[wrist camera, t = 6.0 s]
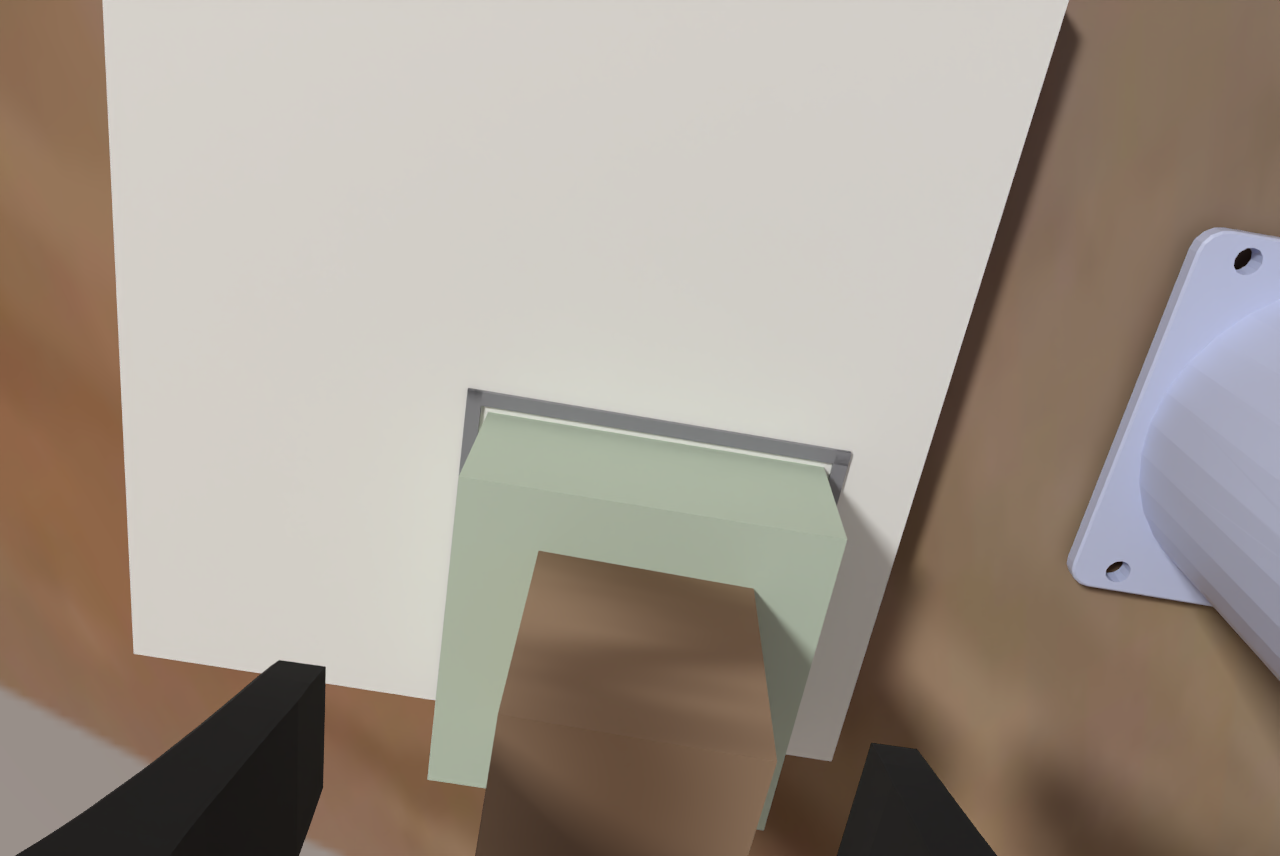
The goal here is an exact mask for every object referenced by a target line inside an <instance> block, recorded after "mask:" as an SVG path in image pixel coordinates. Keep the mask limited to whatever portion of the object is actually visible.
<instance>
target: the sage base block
mask: <svg viewBox="0 0 1280 856" xmlns="http://www.w3.org/2000/svg"><path fill="white" fill-rule="evenodd" d="M846 542H847V537H846V534H845V531H844V528H843V525H842V521H841V518H840V515H839V512H838V509H837V506H836V503H835V500H834V497H833V494H832V491H831V487H830V484H829V481H828V478H827V475H826V472H825V469H824V467H820V466H814V465H808V464H802V463H796V462H790V461H784V460H777V459H771V458H765V457H759V456H753V455H747V454H741V453H735V452H729V451H723V450H717V449H711V448H705V447H699V446H693V445H687V444H681V443H675V442H668V441H662V440H656V439H650V438H644V437H638V436H632V435H626V434H620V433H614V432H608V431H602V430H596V429H590V428H584V427H578V426H572V425H566V424H560V423H553V422H547V421H541V420H535V419H529V418H523V417H517V416H511V415H505V414H499V413H493V412H488V413H487V416H486V418H485V420H484V422H483V424H482V427H481V429H480V431H479V433H478V435H477V437H476V440H475V442H474V444H473V446H472V448H471V451H470V453H469V455H468V457H467V459H466V461H465V464H464V466H463V468H462V470H461V472H460V475H459V478H458V488H457V498H456V507H455V517H454V527H453V537H452V546H451V556H450V566H449V575H448V585H447V595H446V604H445V614H444V624H443V634H442V643H441V653H440V663H439V672H438V682H437V692H436V701H435V711H434V721H433V731H432V740H431V750H430V760H429V769H428V779H427V780H434V781H440V782H447V783H454V784H460V785H467V786H473V787H480V788H486V785H487V779H488V773H489V766H490V760H491V754H492V748H493V741H494V735H495V729H496V723H497V716H498V712H499V707H500V703H501V699H502V695H503V691H504V687H505V683H506V679H507V675H508V671H509V667H510V663H511V659H512V655H513V651H514V647H515V643H516V639H517V635H518V631H519V627H520V623H521V619H522V615H523V611H524V607H525V603H526V599H527V595H528V591H529V587H530V583H531V579H532V575H533V571H534V567H535V563H536V559H537V555H538V551H544V552H550V553H555V554H561V555H567V556H572V557H578V558H584V559H589V560H595V561H600V562H606V563H612V564H617V565H623V566H629V567H634V568H640V569H646V570H651V571H657V572H663V573H668V574H674V575H680V576H685V577H691V578H697V579H702V580H708V581H713V582H719V583H725V584H730V585H736V586H742V587H747V588H753V589H754V594H755V601H756V609H757V616H758V623H759V631H760V638H761V646H762V653H763V660H764V668H765V675H766V683H767V690H768V697H769V705H770V712H771V720H772V727H773V734H774V742H775V749H776V756H777V764H776V767H775V770H774V774H773V777H772V780H771V783H770V787H769V790H768V793H767V796H766V800H765V803H764V806H763V809H762V812H761V816H760V819H759V822H758V825H757V830H764V828H765V825H766V821H767V818H768V814H769V811H770V807H771V804H772V800H773V797H774V793H775V790H776V786H777V783H778V779H779V776H780V772H781V769H782V765H783V762H784V758H785V755H786V751H787V748H788V744H789V741H790V737H791V734H792V730H793V727H794V723H795V720H796V717H797V713H798V710H799V706H800V703H801V699H802V696H803V692H804V689H805V685H806V682H807V678H808V675H809V671H810V668H811V664H812V661H813V657H814V654H815V650H816V647H817V643H818V640H819V636H820V633H821V629H822V626H823V622H824V619H825V616H826V612H827V609H828V605H829V602H830V598H831V595H832V591H833V588H834V584H835V581H836V577H837V574H838V570H839V567H840V563H841V560H842V556H843V553H844V549H845V546H846Z"/></svg>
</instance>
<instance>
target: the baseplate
mask: <svg viewBox="0 0 1280 856" xmlns="http://www.w3.org/2000/svg"><path fill="white" fill-rule="evenodd" d="M1068 2H1069V0H103V19H104V40H105V61H106V82H107V103H108V124H109V145H110V166H111V187H112V208H113V229H114V250H115V271H116V292H117V313H118V333H119V354H120V375H121V396H122V417H123V438H124V459H125V480H126V501H127V522H128V543H129V564H130V585H131V606H132V627H133V648H134V654H139V655H145V656H152V657H158V658H165V659H171V660H178V661H184V662H191V663H197V664H204V665H210V666H217V667H223V668H230V669H236V670H243V671H249V672H256V673H263V672H264V671H265V670H266V669H267V668H269V667H270V666H271V665H273V664H274V663H276V662H277V661H279V660H282V661H289V662H297V663H304V664H311V665H318V666H325V667H326V680H325V683H327V684H333V685H340V686H346V687H353V688H359V689H366V690H372V691H379V692H385V693H392V694H398V695H404V696H411V697H417V698H424V699H430V700H436V692H437V682H438V672H439V663H440V653H441V643H442V634H443V624H444V614H445V604H446V595H447V585H448V575H449V566H450V556H451V546H452V537H453V527H454V517H455V507H456V498H457V488H458V478H459V475H460V472H461V470H462V468H463V466H464V464H465V461H466V459H467V457H468V455H469V453H470V451H471V448H472V446H473V444H474V442H475V440H476V437H477V435H478V433H479V431H480V429H481V427H482V424H483V422H484V420H485V418H486V416H487V413H488V412H493V413H499V414H505V415H511V416H517V417H523V418H529V419H535V420H541V421H547V422H553V423H560V424H566V425H572V426H578V427H584V428H590V429H596V430H602V431H608V432H614V433H620V434H626V435H632V436H638V437H644V438H650V439H656V440H662V441H668V442H675V443H681V444H687V445H693V446H699V447H705V448H711V449H717V450H723V451H729V452H735V453H741V454H747V455H753V456H759V457H765V458H771V459H777V460H784V461H790V462H796V463H802V464H808V465H814V466H820V467H824V469H825V472H826V475H827V478H828V481H829V484H830V487H831V491H832V494H833V497H834V500H835V503H836V506H837V509H838V512H839V515H840V518H841V521H842V525H843V528H844V531H845V534H846V537H847V542H846V546H845V549H844V553H843V556H842V560H841V563H840V567H839V570H838V574H837V577H836V581H835V584H834V588H833V591H832V595H831V598H830V602H829V605H828V609H827V612H826V616H825V619H824V622H823V626H822V629H821V633H820V636H819V640H818V643H817V647H816V650H815V654H814V657H813V661H812V664H811V668H810V671H809V675H808V678H807V682H806V685H805V689H804V692H803V696H802V699H801V703H800V706H799V710H798V713H797V717H796V720H795V723H794V727H793V730H792V734H791V737H790V741H789V744H788V748H787V751H786V755H793V756H799V757H806V758H812V759H819V760H825V761H832V758H833V755H834V752H835V749H836V745H837V742H838V739H839V736H840V732H841V729H842V726H843V723H844V720H845V716H846V713H847V710H848V707H849V704H850V700H851V697H852V694H853V691H854V688H855V684H856V681H857V678H858V675H859V672H860V668H861V665H862V662H863V659H864V656H865V652H866V649H867V646H868V643H869V640H870V636H871V633H872V630H873V627H874V623H875V620H876V617H877V614H878V611H879V607H880V604H881V601H882V598H883V595H884V591H885V588H886V585H887V582H888V579H889V575H890V572H891V569H892V566H893V563H894V559H895V556H896V553H897V550H898V547H899V543H900V540H901V537H902V534H903V531H904V527H905V524H906V521H907V518H908V514H909V511H910V508H911V505H912V502H913V498H914V495H915V492H916V489H917V486H918V482H919V479H920V476H921V473H922V470H923V466H924V463H925V460H926V457H927V454H928V450H929V447H930V444H931V441H932V438H933V434H934V431H935V428H936V425H937V422H938V418H939V415H940V412H941V409H942V405H943V402H944V399H945V396H946V393H947V389H948V386H949V383H950V380H951V377H952V373H953V370H954V367H955V364H956V361H957V357H958V354H959V351H960V348H961V345H962V341H963V338H964V335H965V332H966V329H967V325H968V322H969V319H970V316H971V313H972V309H973V306H974V303H975V300H976V296H977V293H978V290H979V287H980V284H981V280H982V277H983V274H984V271H985V268H986V264H987V261H988V258H989V255H990V252H991V248H992V245H993V242H994V239H995V236H996V232H997V229H998V226H999V223H1000V220H1001V216H1002V213H1003V210H1004V207H1005V204H1006V200H1007V197H1008V194H1009V191H1010V187H1011V184H1012V181H1013V178H1014V175H1015V171H1016V168H1017V165H1018V162H1019V159H1020V155H1021V152H1022V149H1023V146H1024V143H1025V139H1026V136H1027V133H1028V130H1029V127H1030V123H1031V120H1032V117H1033V114H1034V111H1035V107H1036V104H1037V101H1038V98H1039V95H1040V91H1041V88H1042V85H1043V82H1044V78H1045V75H1046V72H1047V69H1048V66H1049V62H1050V59H1051V56H1052V53H1053V50H1054V46H1055V43H1056V40H1057V37H1058V34H1059V30H1060V27H1061V24H1062V21H1063V18H1064V14H1065V11H1066V8H1067V5H1068Z"/></svg>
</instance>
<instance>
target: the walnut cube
mask: <svg viewBox="0 0 1280 856" xmlns="http://www.w3.org/2000/svg"><path fill="white" fill-rule="evenodd" d="M776 764H777V756H776V749H775V742H774V734H773V727H772V720H771V712H770V705H769V697H768V690H767V683H766V675H765V668H764V660H763V653H762V646H761V638H760V631H759V623H758V616H757V609H756V601H755V594H754V589H753V588H747V587H742V586H736V585H730V584H725V583H719V582H713V581H708V580H702V579H697V578H691V577H685V576H680V575H674V574H668V573H663V572H657V571H651V570H646V569H640V568H634V567H629V566H623V565H617V564H612V563H606V562H600V561H595V560H589V559H584V558H578V557H572V556H567V555H561V554H555V553H550V552H544V551H538V555H537V559H536V563H535V567H534V571H533V575H532V579H531V583H530V587H529V591H528V595H527V599H526V603H525V607H524V611H523V615H522V619H521V623H520V627H519V631H518V635H517V639H516V643H515V647H514V651H513V655H512V659H511V663H510V667H509V671H508V675H507V679H506V683H505V687H504V691H503V695H502V699H501V703H500V707H499V712H498V716H497V723H496V729H495V735H494V741H493V748H492V754H491V760H490V766H489V773H488V779H487V785H486V792H485V798H484V804H483V810H482V817H481V823H480V829H479V835H478V842H477V848H476V854H475V856H748V855H749V851H750V848H751V845H752V842H753V838H754V835H755V832H756V829H757V825H758V822H759V819H760V816H761V812H762V809H763V806H764V803H765V800H766V796H767V793H768V790H769V787H770V783H771V780H772V777H773V774H774V770H775V767H776Z"/></svg>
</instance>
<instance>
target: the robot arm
mask: <svg viewBox="0 0 1280 856" xmlns="http://www.w3.org/2000/svg"><path fill="white" fill-rule="evenodd" d="M1246 248H1250V249H1251V251H1252V254H1251V259H1250V261H1249V262H1248V264H1247V265H1246V266H1244V267H1243V268H1241V269H1238V270H1235V268H1234V261H1235V258H1236V257H1237V255H1238V254H1239V253H1240V252H1241V251H1243V250H1245V249H1246ZM1121 561H1123V564H1122V566H1121V567H1120V568H1119V569H1118V570H1116V571H1114V572H1109V573H1106V570H1107V568H1108V567H1109V566H1110V565H1111V564H1113V563H1115V562H1121ZM1067 566H1068V569H1069V572H1070V573H1071V574H1072V576H1073V577H1074V579H1076V580H1077V581H1078V582H1079V583H1080V584H1083V585H1085V586H1089V587H1095V588H1101V589H1107V590H1114V591H1120V592H1126V593H1132V594H1138V595H1144V596H1150V597H1157V598H1163V599H1169V600H1175V601H1181V602H1187V603H1194V604H1200V605H1206V606H1212V607H1214V608H1215V609H1216V610H1217V611H1218V613H1219V614H1220V615H1221V616H1222V617H1223V618H1224V619H1225V620H1226V621H1227V623H1228V624H1229V625H1230V626H1231V627H1232V628H1233V629H1234V630H1235V632H1236V633H1237V634H1238V635H1239V636H1240V637H1241V638H1242V639H1243V640H1244V642H1245V643H1246V644H1247V645H1248V646H1249V647H1250V648H1251V649H1252V651H1253V652H1254V653H1255V654H1256V655H1257V656H1258V657H1259V658H1260V659H1261V661H1262V662H1263V663H1264V664H1265V665H1266V666H1267V667H1268V668H1269V670H1270V671H1271V672H1272V673H1273V674H1274V675H1275V676H1276V677H1277V678H1278V680H1279V681H1280V237H1275V236H1270V235H1264V234H1258V233H1253V232H1247V231H1241V230H1236V229H1230V228H1212V229H1209V230H1207V231H1204V232H1203V233H1201V234H1200V235H1199V236H1198V237H1197V238H1196V239H1195V240H1194V241H1193V243H1192V244H1191V246H1190V248H1189V250H1188V252H1187V255H1186V258H1185V260H1184V263H1183V265H1182V268H1181V270H1180V273H1179V275H1178V278H1177V280H1176V283H1175V286H1174V288H1173V291H1172V293H1171V296H1170V298H1169V301H1168V303H1167V306H1166V308H1165V311H1164V314H1163V316H1162V319H1161V321H1160V324H1159V326H1158V329H1157V331H1156V334H1155V336H1154V339H1153V342H1152V344H1151V347H1150V349H1149V352H1148V354H1147V357H1146V359H1145V362H1144V364H1143V367H1142V370H1141V372H1140V375H1139V377H1138V380H1137V382H1136V385H1135V387H1134V390H1133V392H1132V395H1131V398H1130V400H1129V403H1128V405H1127V408H1126V410H1125V413H1124V415H1123V418H1122V420H1121V423H1120V426H1119V428H1118V431H1117V433H1116V436H1115V438H1114V441H1113V443H1112V446H1111V448H1110V451H1109V453H1108V456H1107V459H1106V461H1105V464H1104V466H1103V469H1102V471H1101V474H1100V476H1099V479H1098V481H1097V484H1096V487H1095V489H1094V492H1093V494H1092V497H1091V499H1090V502H1089V504H1088V507H1087V509H1086V512H1085V515H1084V517H1083V520H1082V522H1081V525H1080V527H1079V530H1078V532H1077V535H1076V537H1075V540H1074V543H1073V545H1072V548H1071V550H1070V553H1069V555H1068V560H1067ZM325 680H326V667H325V666H318V665H311V664H304V663H297V662H289V661H282V660H279V661H277V662H276V663H274V664H273V665H271V666H270V667H269V668H267V669H266V670H265V671H264V672H263V673H261V674H260V675H259V676H258V677H257V678H256V679H254V680H253V681H252V682H251V683H250V684H248V685H247V686H246V687H245V688H244V689H243V690H241V691H240V692H239V693H238V694H237V695H235V696H234V697H233V698H232V699H231V700H229V701H228V702H227V703H226V704H225V705H224V706H222V707H221V708H220V709H219V710H217V711H216V712H215V713H214V714H213V715H211V716H210V717H209V718H208V719H207V720H205V721H204V722H203V723H202V724H201V725H199V726H198V727H197V728H196V729H194V730H193V731H192V732H190V733H189V734H188V735H187V736H185V737H184V738H183V739H182V740H180V741H179V742H178V743H176V744H175V745H174V746H173V747H171V748H170V749H169V750H168V751H166V752H165V753H164V754H163V755H161V756H160V757H159V758H157V759H156V760H155V761H154V762H152V763H151V764H150V765H148V766H147V767H146V768H144V769H143V770H142V771H140V772H139V773H138V774H136V775H135V776H133V777H132V778H131V779H129V780H128V781H126V782H125V783H124V784H122V785H121V786H119V787H118V788H117V789H115V790H114V791H112V792H111V793H110V794H108V795H107V796H105V797H104V798H103V799H101V800H100V801H98V802H97V803H96V804H94V805H93V806H92V807H90V808H89V809H87V810H86V811H84V812H83V813H81V814H80V815H78V816H77V817H76V818H74V819H72V820H71V821H69V822H68V823H66V824H65V825H63V826H62V827H61V828H59V829H57V830H56V831H54V832H53V833H51V834H50V835H48V836H46V837H45V838H43V839H42V840H40V841H39V842H37V843H35V844H34V845H32V846H30V847H29V848H27V849H25V850H24V851H22V852H21V853H19V854H17V855H16V856H299V854H300V851H301V848H302V846H303V843H304V840H305V837H306V835H307V832H308V829H309V826H310V824H311V821H312V818H313V815H314V812H315V809H316V806H317V803H318V800H319V798H320V795H321V792H322V789H323V764H324V722H325ZM837 856H997V855H996V854H995V852H994V851H993V850H992V849H991V847H990V846H989V845H988V843H987V842H986V841H985V839H984V838H983V837H982V836H981V834H980V833H979V832H978V830H977V829H976V828H975V826H974V825H973V824H972V822H971V821H970V820H969V818H968V817H967V816H966V814H965V813H964V812H963V810H962V809H961V808H960V806H959V805H958V804H957V802H956V801H955V800H954V798H953V797H952V796H951V794H950V793H949V792H948V790H947V789H946V787H945V786H944V785H943V783H942V782H941V781H940V779H939V778H938V777H937V775H936V774H935V773H934V771H933V770H932V769H931V767H930V766H929V765H928V763H927V762H926V761H925V759H924V758H923V757H922V755H921V754H920V753H919V751H918V750H917V749H912V748H905V747H897V746H890V745H883V744H876V743H871V746H870V749H869V752H868V755H867V759H866V762H865V765H864V768H863V772H862V775H861V778H860V782H859V785H858V788H857V791H856V795H855V798H854V801H853V805H852V808H851V811H850V814H849V818H848V821H847V824H846V828H845V831H844V834H843V837H842V841H841V844H840V847H839V850H838V854H837Z"/></svg>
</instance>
